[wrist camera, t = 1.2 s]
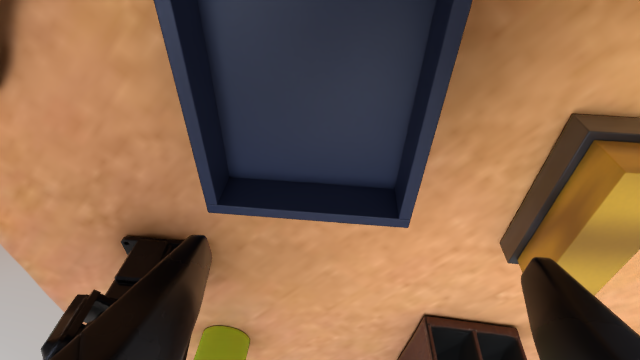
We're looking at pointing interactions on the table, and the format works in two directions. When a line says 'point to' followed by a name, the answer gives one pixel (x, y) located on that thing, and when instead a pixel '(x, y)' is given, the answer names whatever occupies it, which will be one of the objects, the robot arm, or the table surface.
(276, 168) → the blue tray
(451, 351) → the letter holder
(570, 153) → the duster
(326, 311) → the table surface
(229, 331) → the soap dispenser
